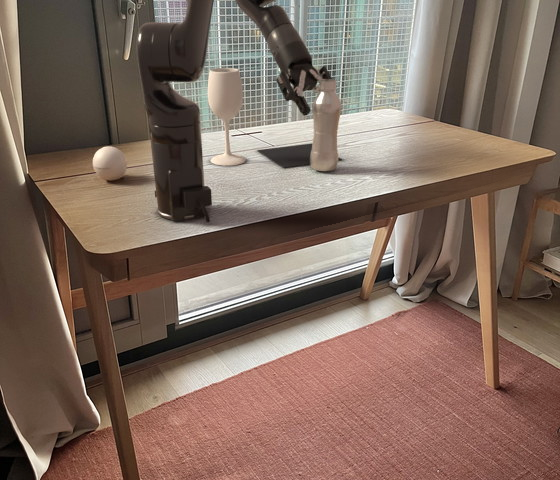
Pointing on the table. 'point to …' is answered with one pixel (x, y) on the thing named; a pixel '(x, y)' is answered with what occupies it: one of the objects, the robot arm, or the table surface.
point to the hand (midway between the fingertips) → (321, 111)
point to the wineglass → (225, 106)
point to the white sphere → (109, 163)
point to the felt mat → (290, 155)
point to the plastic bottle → (325, 127)
